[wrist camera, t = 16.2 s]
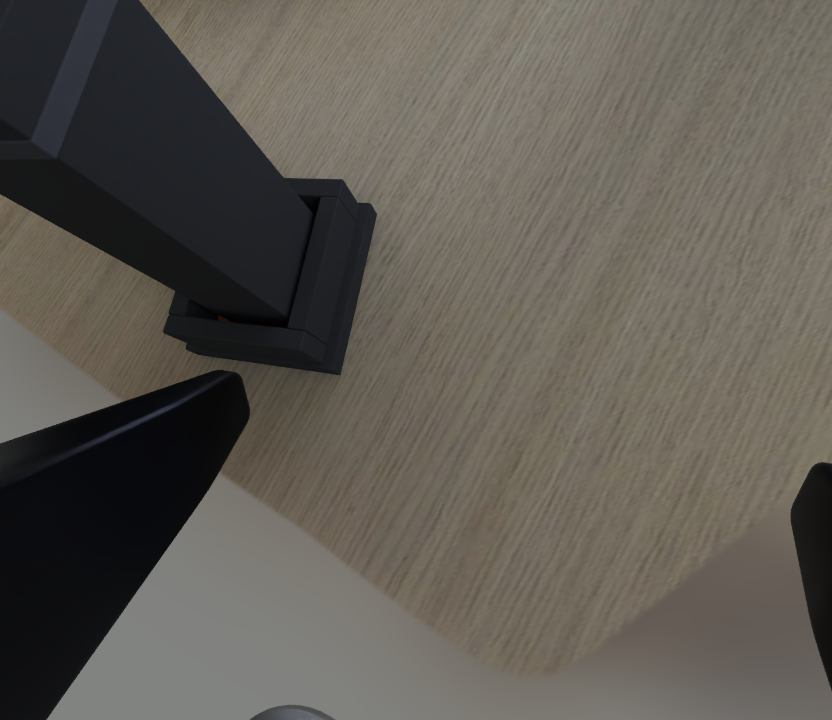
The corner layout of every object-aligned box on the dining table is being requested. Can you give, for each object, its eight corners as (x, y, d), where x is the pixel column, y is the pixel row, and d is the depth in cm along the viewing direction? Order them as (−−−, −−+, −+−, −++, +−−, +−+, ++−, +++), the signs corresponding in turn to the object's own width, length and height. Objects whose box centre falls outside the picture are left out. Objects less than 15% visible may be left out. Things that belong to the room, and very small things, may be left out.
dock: (340, 375, 23) (310, 357, 20) (198, 354, 25) (151, 335, 22) (377, 214, 24) (354, 174, 21) (241, 208, 27) (203, 172, 24)
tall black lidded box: (305, 331, 22) (-32, 98, 9) (229, 323, 23) (-168, 105, 10) (329, 231, 23) (59, -105, 10) (256, 227, 24) (-72, -78, 11)
